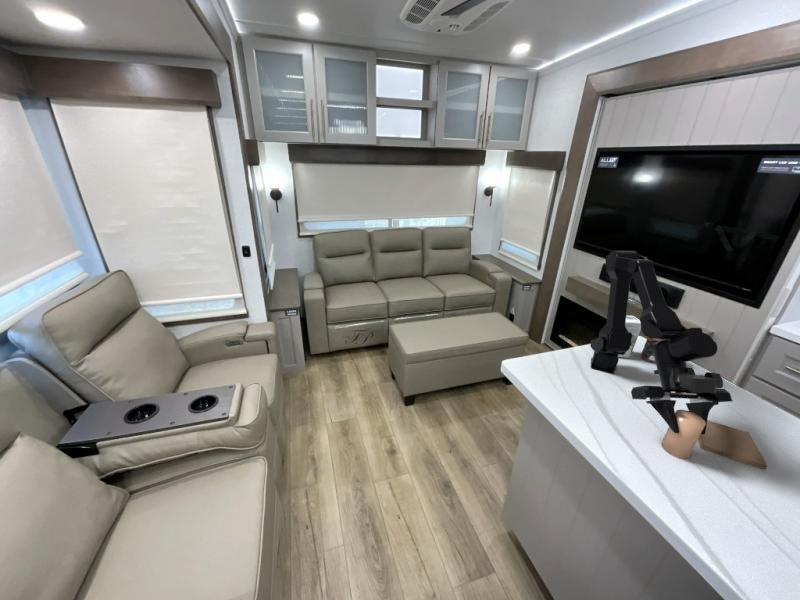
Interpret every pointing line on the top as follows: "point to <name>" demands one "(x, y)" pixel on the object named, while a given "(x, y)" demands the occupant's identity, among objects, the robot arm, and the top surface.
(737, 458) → the walnut serving board
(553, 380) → the top surface
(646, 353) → the supplement bottle
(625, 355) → the syrup box
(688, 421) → the peach rounded cylinder
